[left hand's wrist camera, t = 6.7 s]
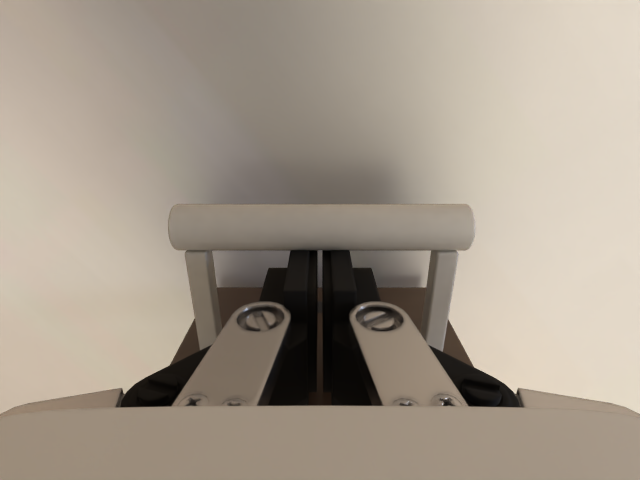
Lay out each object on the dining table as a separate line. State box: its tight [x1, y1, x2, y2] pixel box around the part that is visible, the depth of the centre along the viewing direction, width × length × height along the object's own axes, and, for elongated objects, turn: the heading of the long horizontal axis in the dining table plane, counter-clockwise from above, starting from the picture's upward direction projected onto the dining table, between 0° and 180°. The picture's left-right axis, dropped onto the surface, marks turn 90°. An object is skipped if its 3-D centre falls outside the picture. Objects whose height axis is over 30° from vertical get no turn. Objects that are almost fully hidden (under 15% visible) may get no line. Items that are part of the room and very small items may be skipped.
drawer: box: [168, 204, 475, 406], centre depth 15 cm, size 22×10×7 cm, turn 0°
